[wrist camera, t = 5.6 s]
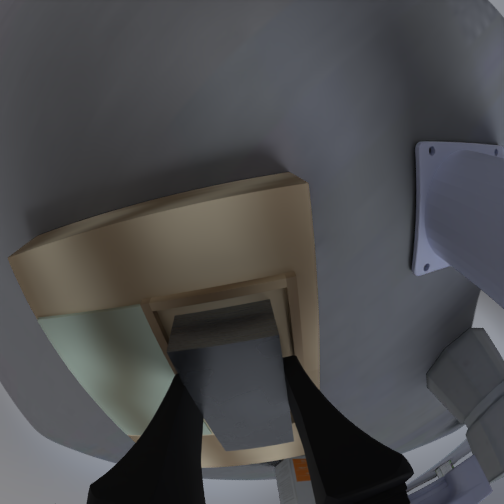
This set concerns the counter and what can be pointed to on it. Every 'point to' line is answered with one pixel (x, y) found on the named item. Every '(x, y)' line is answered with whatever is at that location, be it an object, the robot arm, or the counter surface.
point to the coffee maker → (474, 395)
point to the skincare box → (294, 481)
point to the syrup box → (444, 469)
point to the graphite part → (234, 373)
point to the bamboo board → (174, 291)
